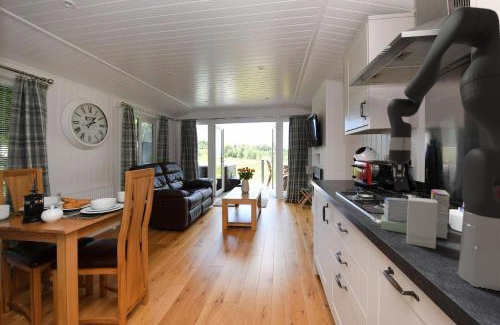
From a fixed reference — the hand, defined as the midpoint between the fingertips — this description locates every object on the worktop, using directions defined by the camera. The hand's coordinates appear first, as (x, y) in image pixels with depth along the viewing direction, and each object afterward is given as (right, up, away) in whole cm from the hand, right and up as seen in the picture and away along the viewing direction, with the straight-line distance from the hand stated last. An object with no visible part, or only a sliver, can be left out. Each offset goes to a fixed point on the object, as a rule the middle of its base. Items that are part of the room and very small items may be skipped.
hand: (397, 189), depth 97 cm
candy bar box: (+13, -17, -4) cm, 22 cm away
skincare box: (-1, -18, -14) cm, 23 cm away
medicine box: (0, -13, +1) cm, 13 cm away
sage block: (0, -17, +1) cm, 17 cm away
